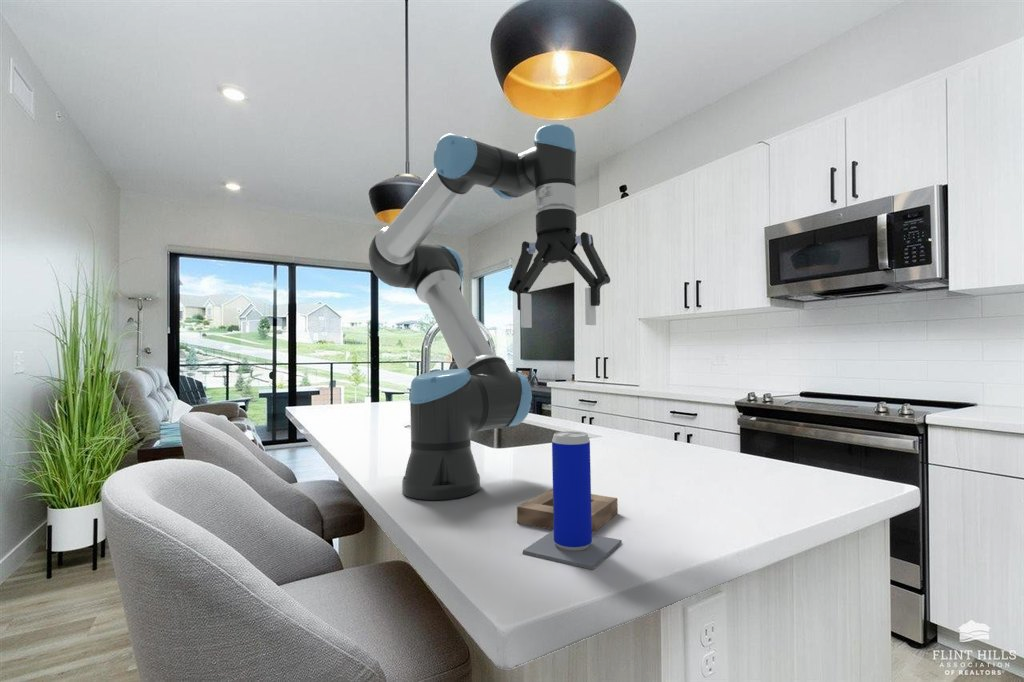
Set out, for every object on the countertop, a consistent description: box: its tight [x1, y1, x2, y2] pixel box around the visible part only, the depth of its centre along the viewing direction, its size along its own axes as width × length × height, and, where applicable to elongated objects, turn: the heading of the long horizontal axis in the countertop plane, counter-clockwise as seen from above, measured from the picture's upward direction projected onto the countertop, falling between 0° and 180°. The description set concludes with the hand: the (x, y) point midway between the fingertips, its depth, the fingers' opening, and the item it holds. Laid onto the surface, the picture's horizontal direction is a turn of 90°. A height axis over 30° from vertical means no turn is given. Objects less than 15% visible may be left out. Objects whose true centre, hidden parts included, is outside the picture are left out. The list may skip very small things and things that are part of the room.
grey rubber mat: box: [522, 529, 622, 570], centre depth 68 cm, size 10×10×1 cm
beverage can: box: [551, 430, 593, 551], centre depth 69 cm, size 5×5×15 cm
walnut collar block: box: [516, 488, 619, 534], centre depth 81 cm, size 12×12×2 cm
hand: (557, 326), depth 93 cm, fingers open, 13 cm apart
